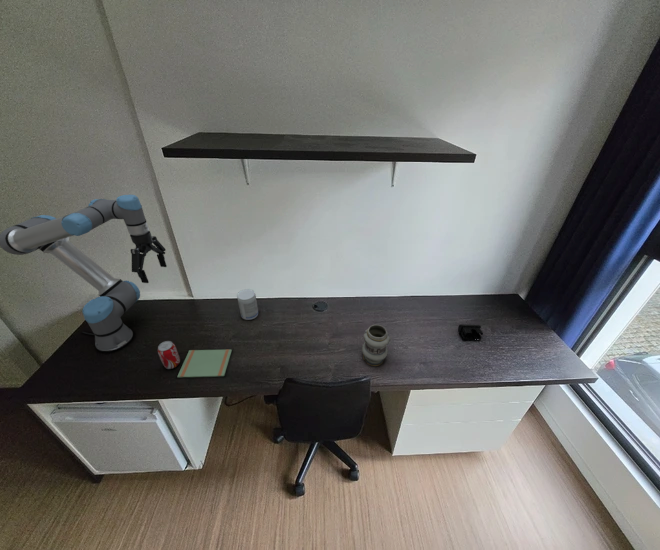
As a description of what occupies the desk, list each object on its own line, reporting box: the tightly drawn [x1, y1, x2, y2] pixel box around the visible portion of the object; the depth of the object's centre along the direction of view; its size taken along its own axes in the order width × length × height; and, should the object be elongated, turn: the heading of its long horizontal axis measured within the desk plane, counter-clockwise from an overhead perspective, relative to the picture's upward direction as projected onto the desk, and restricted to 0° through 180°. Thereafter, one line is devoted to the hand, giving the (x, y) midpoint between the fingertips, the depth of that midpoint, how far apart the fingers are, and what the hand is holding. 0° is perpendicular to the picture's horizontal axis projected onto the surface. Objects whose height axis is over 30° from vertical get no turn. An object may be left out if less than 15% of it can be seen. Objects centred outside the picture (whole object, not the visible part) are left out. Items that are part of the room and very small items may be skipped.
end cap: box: [457, 323, 484, 342], centre depth 151 cm, size 10×7×7 cm
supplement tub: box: [236, 288, 259, 321], centre depth 157 cm, size 10×10×15 cm
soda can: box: [157, 340, 181, 370], centre depth 129 cm, size 7×7×12 cm
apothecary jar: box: [361, 324, 391, 367], centre depth 134 cm, size 12×12×18 cm
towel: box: [176, 348, 233, 379], centre depth 133 cm, size 20×15×1 cm
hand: (155, 274), depth 134 cm, fingers open, 13 cm apart
